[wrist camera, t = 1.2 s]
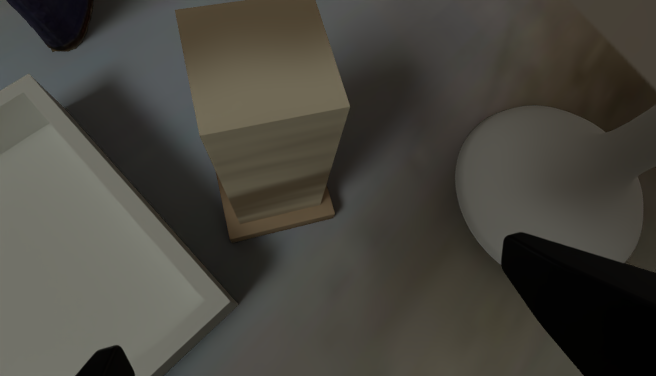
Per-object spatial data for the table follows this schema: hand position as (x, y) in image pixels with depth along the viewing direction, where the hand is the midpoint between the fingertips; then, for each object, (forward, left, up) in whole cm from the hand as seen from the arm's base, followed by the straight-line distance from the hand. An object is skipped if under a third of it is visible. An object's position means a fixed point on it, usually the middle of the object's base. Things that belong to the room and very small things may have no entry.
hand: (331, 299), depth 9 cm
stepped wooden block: (+7, -4, -13) cm, 15 cm away
